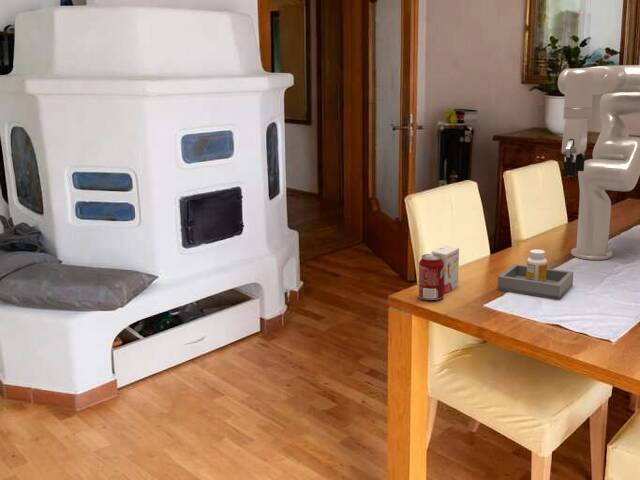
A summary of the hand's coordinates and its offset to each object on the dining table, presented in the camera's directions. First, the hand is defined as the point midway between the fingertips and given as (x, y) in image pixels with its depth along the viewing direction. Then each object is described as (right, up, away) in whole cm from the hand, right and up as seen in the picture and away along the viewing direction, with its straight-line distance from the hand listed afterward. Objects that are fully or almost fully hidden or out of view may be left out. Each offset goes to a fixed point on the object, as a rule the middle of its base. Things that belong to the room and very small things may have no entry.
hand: (573, 173), depth 193 cm
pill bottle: (-13, -32, -5) cm, 35 cm away
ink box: (-38, -34, -3) cm, 51 cm away
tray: (-13, -33, -5) cm, 36 cm away
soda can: (-44, -36, -11) cm, 57 cm away
